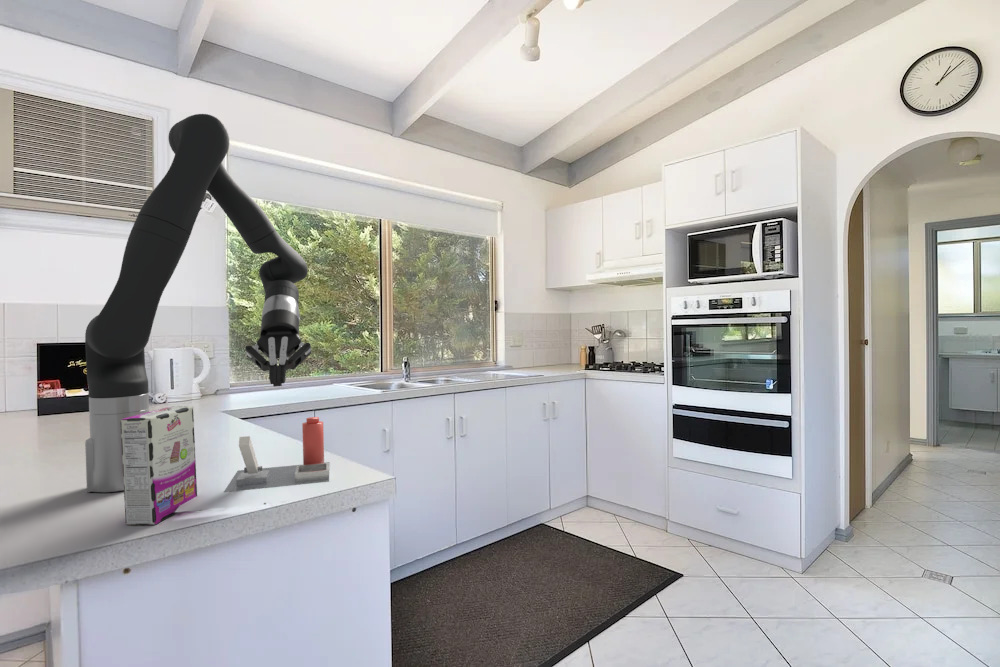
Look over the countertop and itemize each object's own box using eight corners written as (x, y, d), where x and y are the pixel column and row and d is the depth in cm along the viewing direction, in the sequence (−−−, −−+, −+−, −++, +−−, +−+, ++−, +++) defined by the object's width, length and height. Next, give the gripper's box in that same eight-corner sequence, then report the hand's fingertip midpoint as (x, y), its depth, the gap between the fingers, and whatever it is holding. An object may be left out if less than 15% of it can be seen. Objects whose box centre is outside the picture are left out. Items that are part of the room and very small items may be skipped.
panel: (223, 497, 93) (223, 483, 93) (237, 475, 106) (237, 463, 106) (329, 486, 98) (328, 473, 98) (329, 466, 112) (329, 455, 112)
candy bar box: (169, 501, 91) (166, 406, 91) (198, 501, 91) (195, 405, 91) (121, 526, 80) (118, 417, 80) (154, 526, 80) (151, 417, 80)
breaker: (244, 475, 99) (234, 446, 89) (245, 467, 100) (234, 437, 90) (262, 473, 100) (253, 444, 90) (262, 465, 101) (254, 435, 91)
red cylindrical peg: (302, 470, 105) (301, 420, 105) (303, 465, 109) (302, 417, 109) (324, 468, 107) (322, 418, 106) (324, 463, 110) (323, 415, 110)
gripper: (244, 309, 110) (236, 374, 99) (311, 306, 114) (311, 369, 102) (249, 334, 115) (243, 398, 104) (314, 331, 119) (314, 392, 108)
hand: (277, 383), depth 103 cm, fingers closed
